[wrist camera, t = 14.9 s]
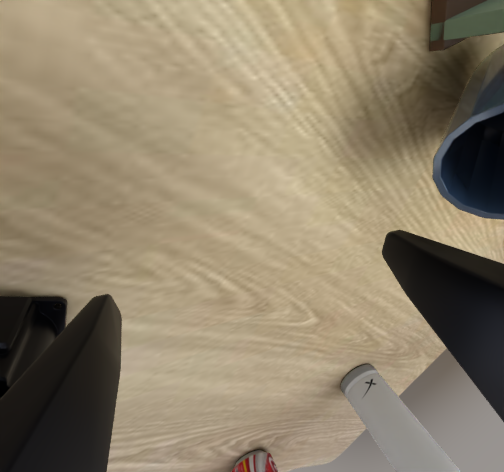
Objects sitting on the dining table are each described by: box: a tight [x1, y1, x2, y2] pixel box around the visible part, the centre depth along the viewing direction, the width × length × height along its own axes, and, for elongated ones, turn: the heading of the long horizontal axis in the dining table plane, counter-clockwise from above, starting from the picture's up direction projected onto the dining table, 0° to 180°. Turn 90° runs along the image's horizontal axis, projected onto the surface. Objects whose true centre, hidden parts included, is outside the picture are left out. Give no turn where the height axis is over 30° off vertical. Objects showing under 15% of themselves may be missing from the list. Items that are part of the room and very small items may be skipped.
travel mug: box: [341, 364, 461, 472], centre depth 34 cm, size 6×7×20 cm
